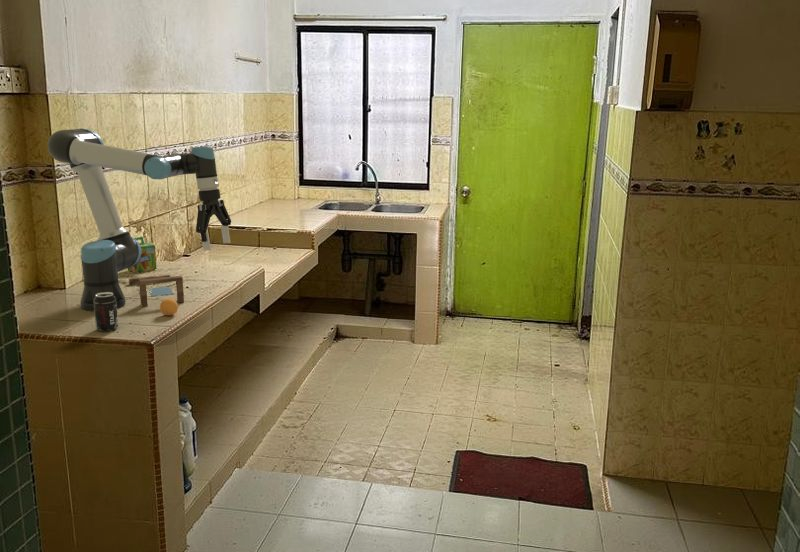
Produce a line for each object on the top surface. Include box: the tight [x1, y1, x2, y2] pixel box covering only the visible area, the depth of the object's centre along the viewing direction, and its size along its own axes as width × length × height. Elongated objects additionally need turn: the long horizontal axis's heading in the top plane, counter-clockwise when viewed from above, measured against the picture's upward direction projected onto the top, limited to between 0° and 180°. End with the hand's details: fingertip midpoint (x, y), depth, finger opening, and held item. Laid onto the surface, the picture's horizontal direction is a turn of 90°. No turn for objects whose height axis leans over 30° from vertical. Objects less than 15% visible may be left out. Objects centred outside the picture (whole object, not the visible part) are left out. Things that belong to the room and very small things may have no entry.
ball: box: [159, 298, 179, 316], centre depth 247 cm, size 6×6×6 cm
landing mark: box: [137, 286, 175, 297], centre depth 277 cm, size 12×12×1 cm
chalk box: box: [127, 236, 157, 274], centre depth 311 cm, size 9×9×15 cm
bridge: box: [138, 275, 185, 307], centre depth 260 cm, size 3×15×10 cm, turn 117°
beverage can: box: [93, 292, 119, 332], centre depth 230 cm, size 7×7×12 cm
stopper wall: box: [128, 274, 171, 286], centre depth 291 cm, size 16×2×2 cm, turn 117°
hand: (217, 246), depth 260 cm, fingers open, 13 cm apart
